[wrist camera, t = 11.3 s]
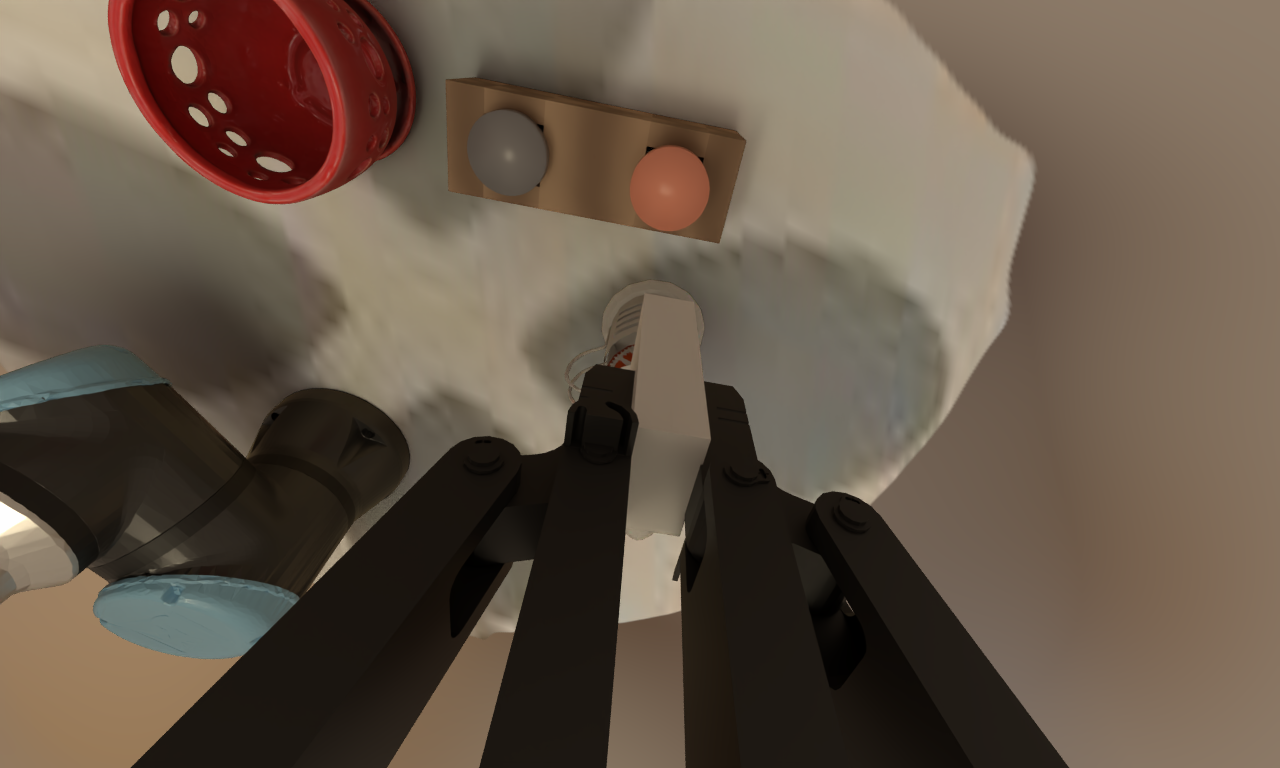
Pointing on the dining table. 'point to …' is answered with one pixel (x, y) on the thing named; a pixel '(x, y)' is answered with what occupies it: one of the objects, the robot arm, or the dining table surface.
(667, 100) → the dining table surface
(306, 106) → the plant pot
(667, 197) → the red plug
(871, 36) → the dining table surface
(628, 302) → the french press
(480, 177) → the charcoal plug
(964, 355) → the dining table surface
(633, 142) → the socket block
